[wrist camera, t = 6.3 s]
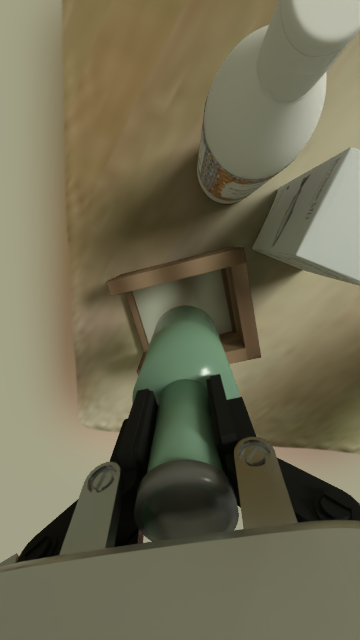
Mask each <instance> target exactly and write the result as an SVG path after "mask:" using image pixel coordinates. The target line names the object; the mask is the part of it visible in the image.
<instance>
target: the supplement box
mask: <svg viewBox="0 0 360 640" xmlns="http://www.w3.org/2000/svg"><path fill="white" fill-rule="evenodd" d="M252 250H254V251H256V252H259V253H261V254H264V255H266V256H269V257H271V258H274V259H276V260H279V261H281V262H284V263H286V264H289V265H291V266H294V267H297V268H299V269H302V270H305V271H308V272H312V273H315V274H318V275H322V276H326V277H330V278H333V279H337V280H341V281H345V282H348V283H352V284H356V285H359V286H360V150H359V149H356V148H353V147H350V148H348V149H347V150H345V151H343V152H342V153H340V154H338V155H336V156H335V157H333V158H331V159H329V160H328V161H326V162H324V163H322V164H320V165H319V166H317V167H315V168H313V169H311V170H310V171H308V172H306V173H304V174H303V175H301V176H299V177H297V178H296V179H294V180H292V181H290V182H288V183H287V184H285V185H283V186H281V187H280V188H279V190H278V192H277V195H276V197H275V200H274V202H273V204H272V207H271V209H270V211H269V214H268V216H267V218H266V220H265V222H264V225H263V227H262V229H261V231H260V233H259V235H258V237H257V239H256V241H255V243H254V245H253V247H252Z"/></svg>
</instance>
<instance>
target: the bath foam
mask: <svg viewBox="0 0 360 640" xmlns="http://www.w3.org/2000/svg"><path fill="white" fill-rule="evenodd" d="M359 31H360V0H278V2H277V5H276V8H275V10H274V13H273V16H272V18H271V21H270V24H269V25H267V26H265V27H262V28H260V29H258V30H256V31H254V32H253V33H251V34H250V35H248V36H247V37H246V38H244V39H243V40H242V41H241V42H240V43H239V44H238V45H237V46H236V47H235V48H234V49H233V50H232V51H231V52H230V53H229V55H228V56H227V57H226V59H225V60H224V62H223V63H222V65H221V67H220V68H219V70H218V72H217V74H216V76H215V78H214V80H213V83H212V85H211V88H210V91H209V93H208V96H207V100H206V104H205V110H204V117H203V125H202V132H201V140H200V147H199V154H198V163H197V175H198V180H199V183H200V185H201V188H202V189H203V191H204V192H205V194H206V195H207V196H208V197H210V198H211V199H212V200H214V201H216V202H219V203H223V204H231V203H236V202H238V201H241V200H243V199H244V198H246V197H247V196H249V195H250V194H251V193H253V192H254V191H255V190H257V189H258V188H259V187H261V186H262V185H263V184H265V183H266V182H267V181H269V180H270V179H271V178H273V177H274V176H275V175H276V174H278V173H279V172H280V171H282V170H283V169H284V168H286V167H287V166H288V165H289V164H290V163H291V162H292V161H293V160H294V159H295V158H296V157H297V156H298V154H299V153H300V152H301V151H302V149H303V148H304V147H305V145H306V144H307V142H308V141H309V139H310V137H311V136H312V134H313V132H314V130H315V128H316V126H317V123H318V121H319V118H320V115H321V112H322V109H323V105H324V99H325V93H326V71H327V70H328V69H329V68H330V66H331V65H332V64H333V63H334V61H335V60H336V59H337V58H338V57H339V55H340V54H341V53H342V52H343V50H344V49H345V48H346V47H347V46H348V44H349V43H350V42H351V41H352V39H353V38H354V37H355V36H356V35H357V33H358V32H359Z"/></svg>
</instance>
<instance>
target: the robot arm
mask: <svg viewBox="0 0 360 640" xmlns="http://www.w3.org/2000/svg"><path fill="white" fill-rule="evenodd" d="M206 382H207V388H208V395H209V402H210V408H211V415H212V422H213V429H214V435H215V440H216V444H217V448H218V452H219V456H220V460H221V463H222V465H223V467H224V470H225V475H226V476H227V477H228V478H229V480H230V481H231V483H232V485H233V488H234V492H235V497H236V502H237V505H238V506H239V507H240V508H241V511H242V519H243V527H244V529H242V530H235V531H227V532H220V533H212V534H205V535H197V536H190V537H183V538H176V539H169V540H161V541H154V542H147V543H143V534H142V532H141V531H140V530H139V528H138V527H137V525H136V522H135V519H134V508H135V503H136V497H137V492H138V487H139V484H140V482H141V480H142V479H143V477H144V476H145V475H146V474H147V469H148V463H149V457H150V452H151V446H152V440H153V434H154V428H155V422H156V416H157V410H158V404H157V401H156V398H155V395H154V392H153V391H150V390H149V389H143V390H138V391H137V393H136V396H135V399H134V402H133V405H132V408H131V411H130V415H129V418H128V419H125V420H124V422H123V424H122V427H121V430H120V433H119V436H118V439H117V442H116V445H115V448H114V450H113V453H112V456H111V459H110V462H106V463H103V464H101V465H99V466H98V467H96V468H95V469H94V470H93V471H91V473H90V474H89V475H88V477H87V478H86V480H85V482H84V485H83V488H82V491H81V493H80V496H79V499H78V500H77V501H76V502H74V503H73V504H72V505H71V506H70V507H69V508H67V509H66V510H65V511H64V512H63V513H62V514H60V515H59V516H58V517H57V518H56V519H55V520H54V521H52V522H51V523H50V524H49V525H48V526H47V527H45V528H44V529H43V530H42V531H41V532H40V533H38V534H37V535H36V536H35V537H34V538H33V539H32V540H31V541H30V542H29V543H28V544H27V546H26V547H25V548H24V550H23V551H22V553H21V555H20V556H18V554H15V555H13V556H11V557H10V558H8V559H6V560H5V561H3V562H2V563H0V640H360V503H358V502H357V501H356V500H355V499H354V498H353V497H351V496H350V495H349V494H347V493H346V492H344V491H343V490H340V489H338V488H337V487H334V486H332V485H331V484H328V483H327V482H325V481H323V480H321V479H318V478H317V477H315V476H312V475H311V474H308V473H306V472H305V471H303V470H301V469H299V468H297V467H295V466H293V465H291V464H289V463H287V462H284V461H283V460H281V459H279V458H277V457H276V454H275V451H274V449H273V447H272V445H271V444H270V443H269V442H268V441H266V440H264V439H262V438H259V437H256V434H255V432H254V429H253V426H252V423H251V421H250V418H249V415H248V412H247V410H246V407H245V404H244V401H243V399H242V397H238V398H233V399H228V400H227V398H226V395H225V391H224V387H223V383H222V379H221V375H220V374H216V375H212V376H210V379H206Z"/></svg>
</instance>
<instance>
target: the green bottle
mask: <svg viewBox="0 0 360 640" xmlns="http://www.w3.org/2000/svg"><path fill="white" fill-rule="evenodd" d="M216 374H220V375H221V379H222V383H223V387H224V391H225V395H226V398H227V400H228V399H233V398H238V397H239V391H238V388H237V384H236V382H235V379H234V376H233V373H232V371H231V368H230V365H229V362H228V359H227V357H226V354H225V351H224V348H223V346H222V343H221V340H220V337H219V334H218V332H217V329H216V326H215V324H214V321H213V320H212V318H211V317H210V316H209V315H208V314H207V313H206V312H205V311H203V310H202V309H200V308H197V307H194V306H188V305H183V306H177V307H174V308H172V309H170V310H168V311H167V312H165V313H164V314H163V315H162V316H161V317H160V319H159V320H158V322H157V325H156V327H155V330H154V333H153V336H152V339H151V342H150V344H149V347H148V350H147V353H146V356H145V359H144V361H143V364H142V367H141V370H140V373H139V376H138V379H137V381H136V384H135V387H134V391H133V402H134V399H135V396H136V393H137V391H138V390H143V389H149V390H150V391H153V392H154V395H155V398H156V401H157V404H158V410H157V416H156V422H155V428H154V434H153V440H152V446H151V452H150V457H149V463H148V469H147V474H146V475H145V476H144V477H143V479H142V480H141V482H140V484H139V487H138V492H137V497H136V503H135V508H134V519H135V522H136V525H137V527H138V528H139V530H140V531H141V532H142V534H143V535H144V536H145V537H147V538H148V539H149V540H151V541H152V542H154V541H161V540H169V539H176V538H183V537H190V536H197V535H205V534H212V533H220V532H227V531H234V529H235V528H236V525H237V522H238V517H239V513H238V507H237V502H236V497H235V492H234V488H233V485H232V483H231V481H230V480H229V478H228V477H227V476H226V475H225V470H224V467H223V465H222V463H221V460H220V456H219V452H218V448H217V444H216V440H215V435H214V429H213V422H212V415H211V408H210V402H209V395H208V388H207V382H206V379H210V376H212V375H216Z"/></svg>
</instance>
